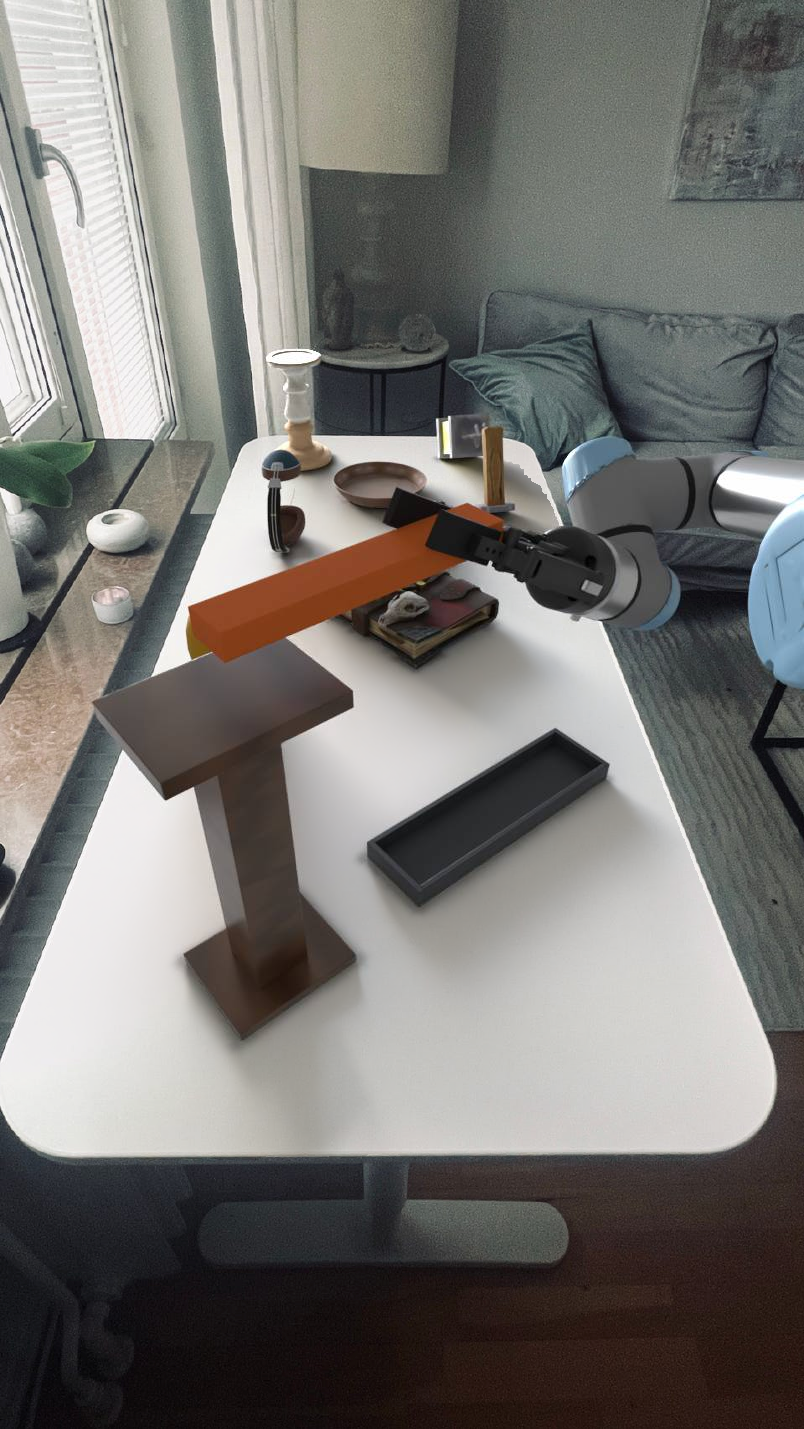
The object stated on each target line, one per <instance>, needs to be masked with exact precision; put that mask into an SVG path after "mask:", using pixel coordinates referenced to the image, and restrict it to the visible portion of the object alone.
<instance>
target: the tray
mask: <svg viewBox="0 0 804 1429" xmlns="http://www.w3.org/2000/svg"><path fill="white" fill-rule="evenodd" d="M610 765H611V763H609V762H607V761H606V760H605V759H603V758H602V757H601V756H599V755H597V754H595V753H594V752H593V751H591V750H589V749H588V748H587V747H585V746H584V745H582V744H580V743H579V742H578V741H576V740H574V739H573V738H571V737H570V736H568V735H567V734H566V733H564V732H563V731H561V730H559V728H557V727H554V728H552V729H551V730H549V731H547V732H546V733H543V734H542V735H541V736H539V737H537V738H536V739H534V740H532V741H530V742H529V743H527V744H526V745H524V746H523V747H521V748H519V749H518V750H516V751H514V752H512V753H511V754H509V755H507V756H506V757H504V758H503V759H501V760H499V761H498V762H496V763H494V764H492V765H491V766H489V767H488V768H486V769H484V770H483V771H481V772H479V773H478V774H476V775H475V776H473V777H471V778H469V779H468V780H466V781H465V782H463V783H461V784H460V785H458V786H457V787H455V788H454V789H452V790H450V791H448V792H447V793H445V794H444V795H443V794H442V795H441V796H440V797H439V798H437V799H435V800H433V801H432V802H430V803H429V804H427V805H425V806H424V807H422V808H421V809H418V810H417V811H415V812H414V813H412V814H410V815H409V816H407V817H406V818H404V819H402V820H401V821H399V822H397V823H395V824H394V825H392V826H391V827H389V828H387V829H386V830H384V831H383V832H381V833H379V834H378V835H376V836H375V837H373V838H371V839H370V840H367V841H366V856H367V858H368V859H369V860H370V861H371V862H372V863H373V865H375V866H376V867H377V868H378V869H379V871H381V872H382V873H383V874H384V875H385V876H386V877H388V879H389V880H390V881H391V882H392V883H393V884H394V885H395V886H396V887H397V888H398V889H399V890H401V891H402V893H404V894H405V895H406V896H407V897H408V898H409V899H410V900H411V901H412V902H413V903H414V904H415V905H416V906H417V907H418V908H420V907H422V906H423V905H425V904H427V903H428V902H429V901H431V900H433V899H434V898H435V897H436V896H437V895H439V894H441V893H442V892H444V891H445V890H447V889H448V888H449V887H451V886H452V885H454V884H456V883H457V882H458V881H459V880H461V879H462V878H464V877H466V876H467V875H468V874H470V873H472V872H473V871H475V869H477V868H478V867H480V866H481V865H483V864H484V863H486V862H488V861H489V860H490V859H492V858H494V857H495V856H496V855H497V854H499V853H500V852H502V851H503V850H505V849H506V848H508V847H509V846H511V845H512V844H514V843H515V842H517V841H518V840H519V839H520V838H522V837H524V836H525V835H526V834H528V833H529V832H531V831H532V830H534V829H535V828H537V827H538V826H540V825H541V824H542V823H544V822H546V821H547V820H549V819H550V818H551V817H552V816H554V815H555V814H557V813H559V812H560V811H561V810H563V809H564V808H566V807H567V806H569V805H570V804H572V803H573V802H574V801H576V800H578V799H579V798H581V796H583V795H584V794H586V793H588V792H589V791H591V790H592V789H594V788H595V787H596V786H598V785H599V784H601V783H602V782H604V781H605V780H606V779H607V778H608V773H609V769H610Z"/></svg>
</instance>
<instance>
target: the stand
mask: <svg viewBox="0 0 804 1429" xmlns="http://www.w3.org/2000/svg"><path fill="white" fill-rule="evenodd" d="M354 700H355V699H354V690H353V689H352V688H351V687H349V686H348V685H347V684H345V683H344V682H343V681H342V680H340V679H339V678H338V677H336V676H335V675H334V674H333V673H331V671H329V670H328V669H327V668H325V667H324V666H323V665H322V664H320V663H318V661H317V660H315V659H314V658H312V657H311V656H310V655H309V654H307V653H306V652H305V651H303V650H302V649H301V648H300V647H298V646H297V645H296V644H294V642H292V641H291V640H289V638H287V637H285V638H283V639H281V640H278V641H276V642H274V643H271V644H269V645H267V646H264V647H262V648H259V649H257V650H255V651H252V652H250V653H248V654H245V655H243V656H240V657H238V658H236V659H233V660H231V661H229V662H226V663H224V662H223V661H222V660H220V659H219V658H218V657H217V656H216V655H215V654H214V653H213V652H211V653H209V654H206V655H204V656H201V657H199V658H196V659H194V660H189V661H187V662H184V663H181V664H180V665H176V666H174V667H172V668H169V669H167V670H164V671H162V672H159V673H157V674H154V675H152V676H150V677H147V678H145V679H142V680H140V681H138V682H135V683H133V684H131V685H128V686H125V687H123V688H121V689H118V690H115V691H113V692H111V693H108V694H106V695H103V696H100V697H98V698H96V699H93V700H91V704H92V708H93V710H94V714H95V717H96V719H97V720H98V721H99V723H100V725H101V726H102V727H103V728H104V729H105V730H106V731H107V733H109V735H110V737H112V739H113V740H114V741H115V743H117V745H118V746H119V747H120V748H121V750H123V752H124V754H126V756H127V757H128V758H129V760H131V761H132V763H133V764H134V765H135V767H136V768H137V770H139V772H140V773H141V774H142V775H143V777H144V778H145V779H146V780H147V781H148V782H149V783H150V785H151V786H152V788H154V789H155V791H156V792H157V793H158V794H159V796H160V797H161V798H162V799H163V800H164V801H165V802H166V801H168V800H170V799H172V798H174V797H177V796H178V795H181V794H182V793H184V792H187V791H189V790H191V789H193V791H194V795H195V800H196V803H197V807H198V811H199V816H200V820H201V825H202V829H203V833H204V838H205V843H206V846H207V851H208V856H209V859H210V864H211V869H212V873H213V878H214V882H215V886H216V891H217V895H218V899H219V904H220V908H221V911H222V912H221V913H222V916H223V920H224V925H225V928H224V929H221V930H220V931H219V932H217V933H215V934H213V935H212V936H210V937H209V938H207V939H205V940H204V941H202V942H200V943H199V944H197V945H196V946H193V947H192V948H190V949H189V950H187V951H186V952H183V958H184V962H185V963H186V964H187V966H188V967H189V968H190V970H191V971H192V973H193V974H194V976H195V977H196V978H197V980H198V981H199V983H200V984H201V985H202V987H203V988H204V990H205V991H206V993H207V994H208V995H209V997H210V999H211V1000H212V1001H213V1002H214V1004H215V1005H216V1007H217V1008H218V1010H219V1011H220V1012H221V1014H222V1015H223V1017H224V1018H225V1020H226V1021H227V1023H228V1024H229V1026H230V1027H231V1028H232V1030H233V1032H234V1033H235V1034H236V1035H237V1037H238V1038H239V1040H240V1041H243V1040H246V1039H247V1038H248V1037H249V1036H250V1035H252V1034H253V1033H256V1031H258V1030H259V1029H261V1028H262V1027H264V1026H265V1025H266V1024H268V1023H269V1022H271V1021H272V1020H274V1019H275V1018H276V1017H278V1016H279V1015H281V1014H282V1013H284V1012H285V1011H287V1010H288V1009H289V1008H291V1007H293V1006H294V1005H295V1004H296V1003H298V1002H299V1001H301V1000H302V999H304V998H306V997H307V996H308V995H309V994H311V993H313V992H314V991H315V990H317V989H319V988H320V987H322V986H323V985H325V983H327V982H329V981H330V980H331V979H333V978H334V977H336V976H337V975H339V974H340V973H342V972H343V971H344V970H346V969H347V968H348V967H350V966H352V965H353V964H354V963H356V962H357V954H356V953H355V952H354V951H353V949H352V948H351V947H349V945H348V944H347V943H346V942H345V940H343V939H342V937H341V936H340V935H339V934H338V933H337V932H336V931H335V930H334V928H333V927H332V926H331V925H330V924H329V923H328V922H327V920H326V919H325V918H324V917H323V916H322V915H321V914H320V913H319V911H317V909H316V908H315V907H314V906H313V905H312V904H311V903H310V902H309V901H308V899H307V898H306V897H305V896H304V895H303V894H302V892H301V891H300V883H299V875H298V867H297V860H296V850H295V842H294V837H293V836H294V835H293V828H292V827H293V826H292V820H291V810H290V804H289V796H288V788H287V787H288V786H287V780H286V779H287V778H286V772H285V763H284V757H283V756H284V755H283V748H282V744H283V743H285V742H287V741H289V740H291V739H293V738H295V737H298V736H299V735H302V734H303V733H306V732H308V731H310V730H311V729H313V728H316V727H317V726H319V725H321V724H323V723H325V722H328V721H330V720H331V719H333V718H335V717H338V716H340V715H342V714H344V713H346V712H348V711H350V710H352V709H354V708H355V704H354Z"/></svg>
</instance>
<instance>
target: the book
mask: <svg viewBox="0 0 804 1429" xmlns="http://www.w3.org/2000/svg"><path fill="white" fill-rule="evenodd" d="M499 608H500V601H499V599H498V598H497V597H494V596H493V595H490V594H489V593H486V592H484V591H482V589H481V588H480V587H479V586H478V585H476V584H474V583H472V582H470V581H467V580H466V579H463V578H456V577H454V576H452V575H451V573H450V571H447V570H444V571H442V572H440V573H437V574H435V575H432V576H430V577H428V578H425V579H423V580H421V581H418V582H416V583H413V584H411V585H409V586H406V587H404V588H402V589H399V590H397V591H394V592H392V593H390V594H387V595H385V596H383V597H380V598H378V599H376V600H373V601H371V602H368V603H366V604H364V605H361V606H359V607H357V608H354V609H352V610H349V611H347V612H345V613H342V614H340V615H338V616H337V617H338V618H340V619H342V620H343V621H345V622H347V623H349V624H350V625H351V626H352V629H354V630H355V631H356V632H358V633H360V634H361V635H362V636H363V637H368V636H370V637H372V638H374V639H375V640H376V641H378V642H380V643H381V644H383V645H384V646H386V647H387V648H388V649H390V650H391V651H393V652H395V653H396V654H397V657H399V658H400V659H401V660H402V661H404V662H405V663H407V664H408V665H409V666H411V667H413V668H414V669H415V670H418V669H419V668H421V667H422V666H424V665H426V664H427V663H429V662H430V661H432V660H433V659H435V658H436V657H438V656H440V655H441V654H442V652H443V650H444V649H446V647H448V646H449V645H451V644H453V643H455V642H456V641H458V640H460V639H462V638H464V637H465V636H467V635H469V634H471V633H472V632H474V631H476V630H478V629H479V628H481V627H485V626H488V625H489V624H492V623H493V622H494V621H495V620H496V619H497V617H498V615H499V610H500V609H499Z"/></svg>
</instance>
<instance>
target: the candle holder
mask: <svg viewBox="0 0 804 1429" xmlns="http://www.w3.org/2000/svg"><path fill="white" fill-rule="evenodd" d="M265 361H266V364H267V365H268V366H269V367H271V368H274V369H277V370H281V372H282V373H283V374H284V376H285V378H286V382H285V384H284V385H283V387H282V390H283V391H284V392H285V393H286V403H285V407H284V414H283V415H284V417H285V419H286V420H287V421H286V423H285V424H284V430H285V431H286V432H287V433H288V441H286V442H283V444H281V445H280V446H279V447H277V448H276V449H274V451H275V450H279V449H283V450H287V451H289V452H291V453H292V454H293V455H294V456H295V457H296V458H297V459H298V460H299V462H300V465H301V472H302V471H311V470H317V469H320V468H323V467H325V466H326V465H328V464H329V463H330V462H331V460H332V451H331V450H330V448H329V447H327V446H325V445H323V444H321V443H320V442H319V441H315V440H313V438H312V432H313V430H314V428H315V425H314V423H313V422H312V421H311V420H310V419H311V417H312V416H313V411H312V408H311V405H310V403H309V397H308V395H307V392H308V391H309V390H310V386H309V384H307V383H306V381H305V376H306V373H307V372H308V371H309V369H310V368H314V367H316V366H319V364H321V362H322V355H321V353H319V352H316V351H313V350H311V349H302V348H301V349H300V348H299V349H298V348H295V349H294V348H291V349H282V350H281V349H280V350H276V351H273V352H271V353H269V354H268V355H267V356H266V359H265Z"/></svg>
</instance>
